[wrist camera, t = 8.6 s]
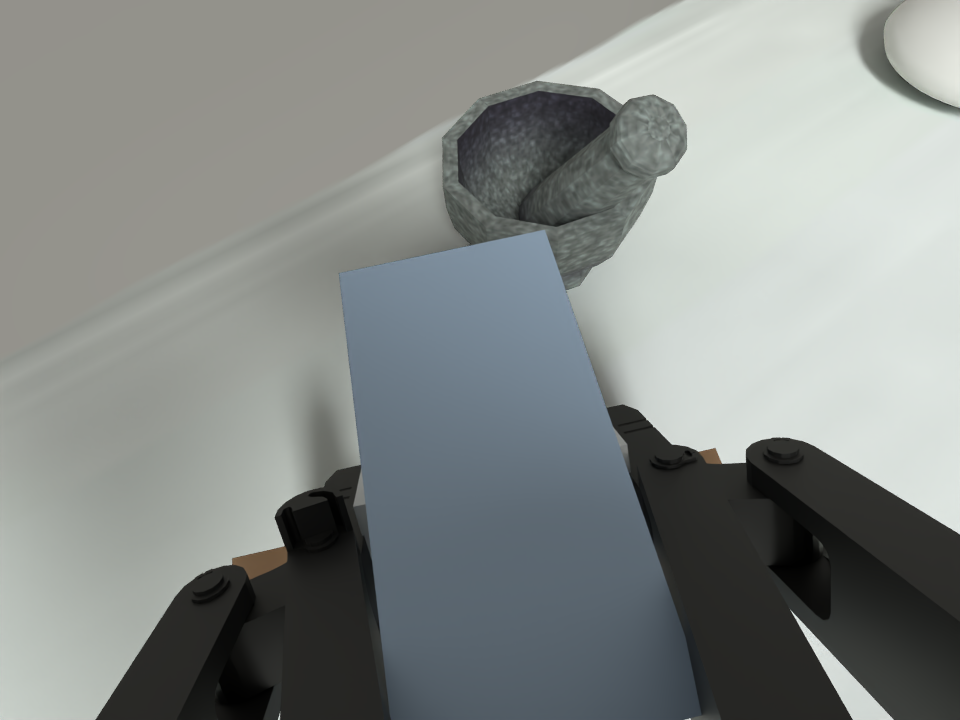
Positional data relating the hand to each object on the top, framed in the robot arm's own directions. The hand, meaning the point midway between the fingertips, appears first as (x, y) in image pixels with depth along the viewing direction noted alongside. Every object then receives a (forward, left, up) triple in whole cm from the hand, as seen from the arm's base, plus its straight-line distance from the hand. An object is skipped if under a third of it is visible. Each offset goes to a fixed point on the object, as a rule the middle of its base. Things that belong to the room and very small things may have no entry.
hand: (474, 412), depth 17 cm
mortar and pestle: (+6, +12, -9) cm, 16 cm away
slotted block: (0, -4, -3) cm, 5 cm away
